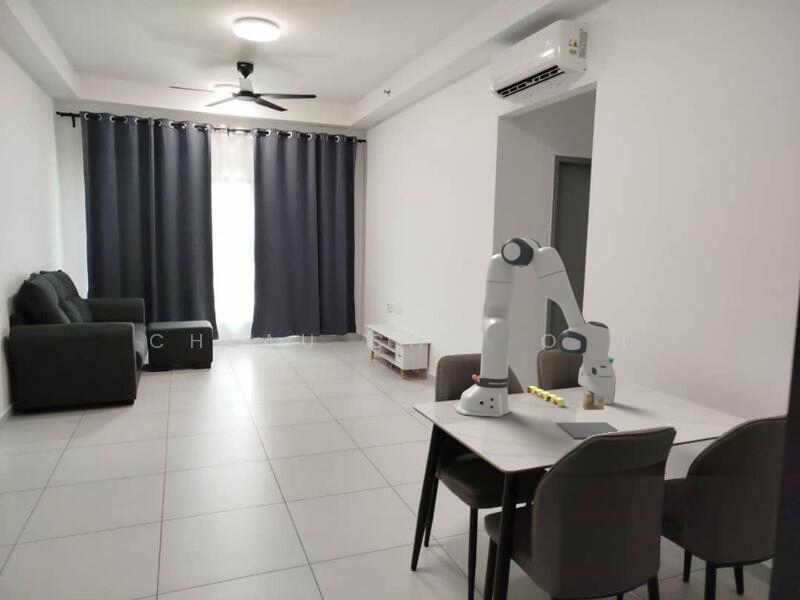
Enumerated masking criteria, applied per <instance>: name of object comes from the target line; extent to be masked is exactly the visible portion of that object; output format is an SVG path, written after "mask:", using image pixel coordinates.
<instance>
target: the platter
mask: <svg viewBox="0 0 800 600" xmlns="http://www.w3.org/2000/svg"><path fill="white" fill-rule="evenodd" d="M526 391H527V392H526V393H528V394H529V393H533V394H532V395H534V394H535V395H536V396H540V397H539V399H540V398H542V399H546V400H545V401H546V402H547V401H549V402H553V403H552V404H555V405H557V406H556V407H564V406H565V399H564V398H562V397H560V396H559V397H558V395H555V394H553V393H552V394H551V392H548V391H545V390H543V389H542V388H538V387H537V386H535V385H534V386H533V385H531V386H527V390H526ZM536 396H535V397H536ZM542 399H541V400H542ZM549 402H548V403H549ZM555 405H554V406H555ZM563 405H564V406H563Z"/></svg>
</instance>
